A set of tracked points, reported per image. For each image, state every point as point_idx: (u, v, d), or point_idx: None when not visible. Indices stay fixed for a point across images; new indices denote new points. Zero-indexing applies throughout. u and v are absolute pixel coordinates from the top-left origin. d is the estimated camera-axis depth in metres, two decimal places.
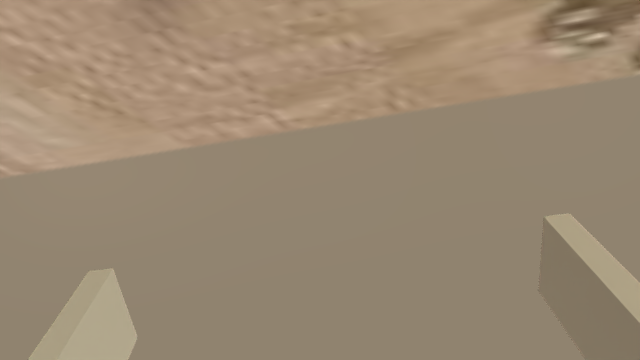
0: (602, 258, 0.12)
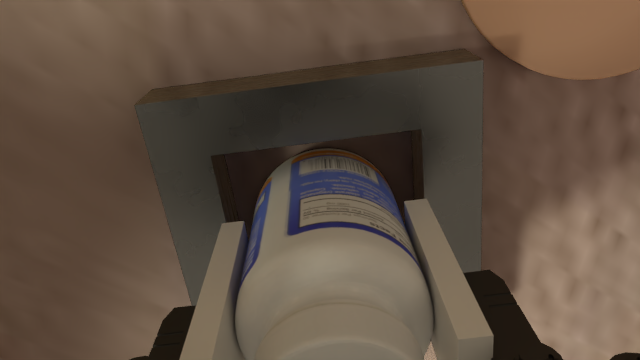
0: (434, 235, 0.14)
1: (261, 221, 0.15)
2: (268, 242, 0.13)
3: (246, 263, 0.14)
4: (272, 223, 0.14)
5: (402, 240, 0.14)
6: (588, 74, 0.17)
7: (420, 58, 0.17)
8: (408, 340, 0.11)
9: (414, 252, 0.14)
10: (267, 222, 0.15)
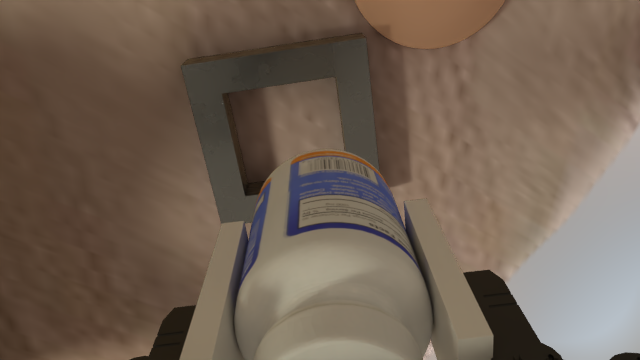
0: (434, 235, 0.14)
1: (260, 222, 0.15)
2: (267, 242, 0.13)
3: (245, 264, 0.14)
4: (272, 223, 0.14)
5: (401, 241, 0.14)
6: (430, 45, 0.31)
7: (336, 38, 0.30)
8: (407, 341, 0.11)
9: (413, 253, 0.14)
10: (266, 223, 0.15)
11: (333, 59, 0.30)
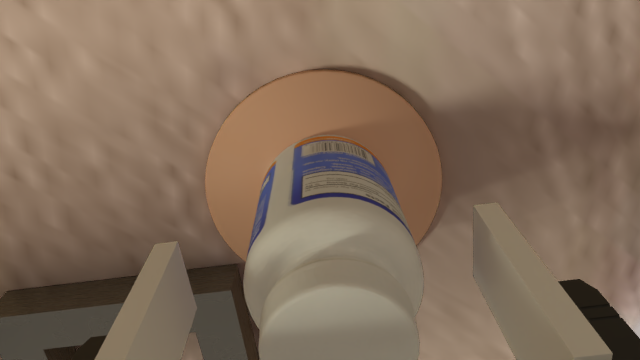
0: (516, 242, 0.14)
1: (267, 197, 0.17)
2: (274, 211, 0.15)
3: (253, 233, 0.15)
4: (277, 197, 0.16)
5: (395, 211, 0.15)
6: None
7: (198, 276, 0.23)
8: (399, 291, 0.12)
9: (406, 223, 0.16)
10: (272, 197, 0.16)
11: None
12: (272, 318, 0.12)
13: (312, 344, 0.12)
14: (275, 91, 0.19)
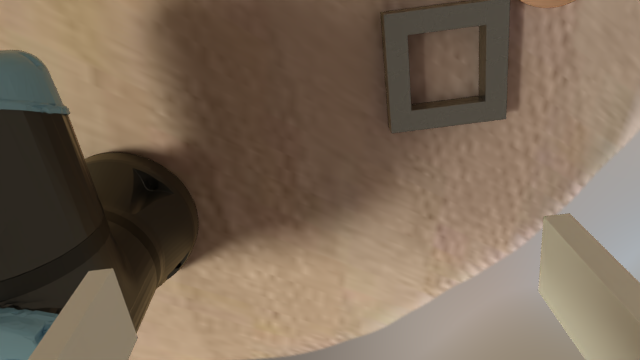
0: (602, 258, 0.12)
1: None
2: None
3: None
4: None
5: None
6: (548, 5, 0.45)
7: None
8: None
9: None
10: None
11: (486, 12, 0.44)
12: None
13: None
14: None
